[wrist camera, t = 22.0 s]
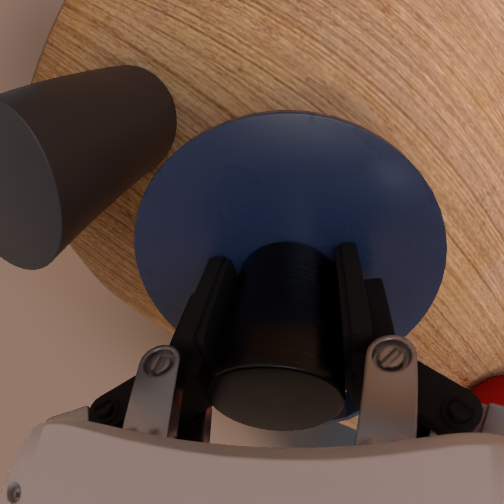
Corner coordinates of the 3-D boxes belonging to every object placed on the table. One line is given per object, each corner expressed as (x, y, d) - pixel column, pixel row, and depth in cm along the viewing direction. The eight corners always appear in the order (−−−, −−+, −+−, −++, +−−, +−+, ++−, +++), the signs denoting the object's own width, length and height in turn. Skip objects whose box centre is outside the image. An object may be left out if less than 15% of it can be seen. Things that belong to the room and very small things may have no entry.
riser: (100, 183, 25) (-2, 274, 14) (68, 90, 20) (-60, 142, 10) (190, 160, 23) (93, 263, 12) (158, 48, 18) (17, 62, 7)
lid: (198, 359, 17) (167, 456, 12) (104, 151, 11) (-12, 235, 6) (419, 346, 14) (440, 453, 9) (438, 93, 8) (565, 149, 3)
